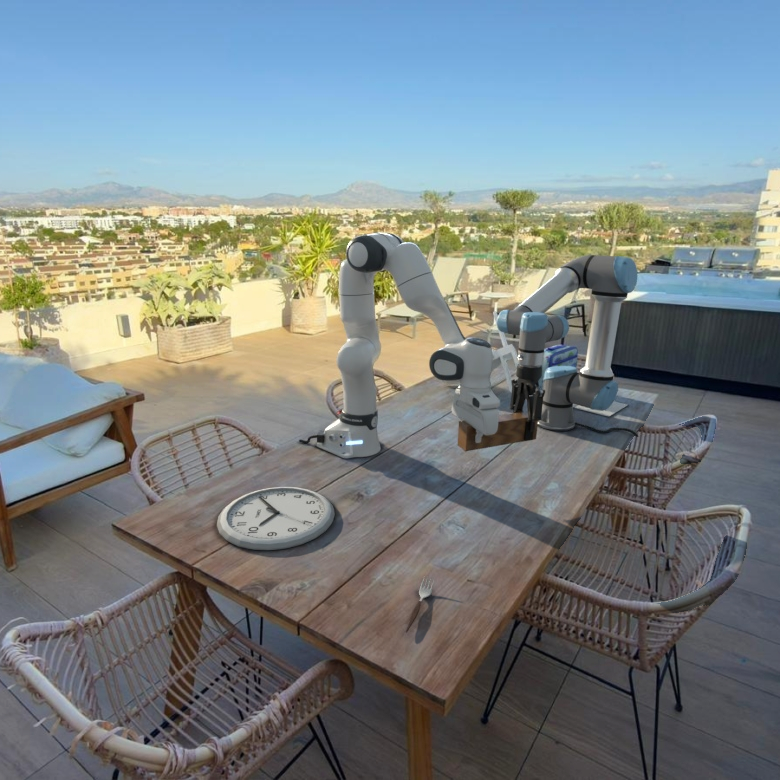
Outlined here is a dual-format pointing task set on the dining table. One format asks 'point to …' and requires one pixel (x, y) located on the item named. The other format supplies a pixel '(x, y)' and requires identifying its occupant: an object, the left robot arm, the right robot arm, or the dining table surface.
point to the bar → (507, 432)
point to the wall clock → (275, 518)
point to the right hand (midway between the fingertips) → (522, 436)
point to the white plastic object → (499, 358)
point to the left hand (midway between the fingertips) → (471, 438)
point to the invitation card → (608, 412)
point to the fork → (423, 593)
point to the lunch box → (558, 358)
